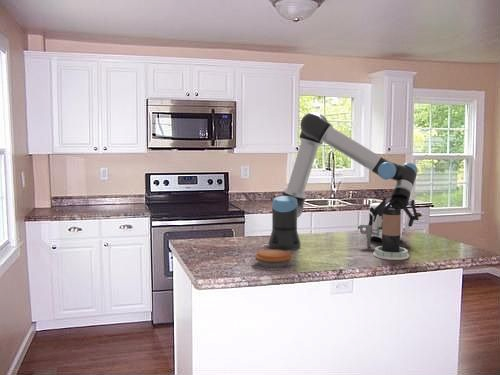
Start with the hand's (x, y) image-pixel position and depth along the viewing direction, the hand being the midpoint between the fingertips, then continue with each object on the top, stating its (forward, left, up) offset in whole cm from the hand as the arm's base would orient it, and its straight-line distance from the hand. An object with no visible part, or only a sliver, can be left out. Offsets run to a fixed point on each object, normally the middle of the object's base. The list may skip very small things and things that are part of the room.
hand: (389, 230), depth 199 cm
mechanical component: (-4, +20, -12) cm, 23 cm away
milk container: (+8, +35, -12) cm, 38 cm away
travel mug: (+1, +2, -11) cm, 11 cm away
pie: (-51, -11, -12) cm, 53 cm away
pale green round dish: (+1, +2, -12) cm, 12 cm away
